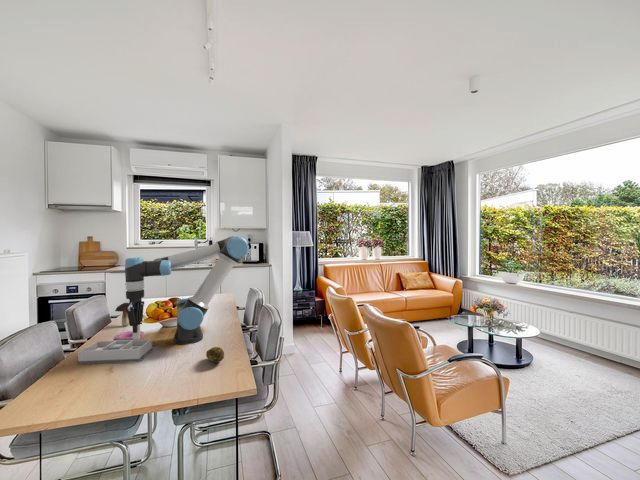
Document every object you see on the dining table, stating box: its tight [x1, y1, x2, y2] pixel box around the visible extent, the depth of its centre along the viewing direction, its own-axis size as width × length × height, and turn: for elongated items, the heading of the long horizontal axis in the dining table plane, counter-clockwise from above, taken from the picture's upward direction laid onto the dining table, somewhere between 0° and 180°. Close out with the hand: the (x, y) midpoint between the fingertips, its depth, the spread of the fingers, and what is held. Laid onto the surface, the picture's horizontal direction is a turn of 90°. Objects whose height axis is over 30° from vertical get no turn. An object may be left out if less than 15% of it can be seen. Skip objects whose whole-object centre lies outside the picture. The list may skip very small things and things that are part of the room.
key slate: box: [109, 344, 125, 350], centre depth 142 cm, size 5×5×3 cm
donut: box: [112, 330, 145, 340], centre depth 161 cm, size 14×14×5 cm
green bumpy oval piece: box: [205, 346, 225, 364], centre depth 136 cm, size 8×13×8 cm, turn 15°
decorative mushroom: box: [114, 302, 130, 327], centre depth 190 cm, size 11×11×15 cm
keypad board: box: [77, 338, 154, 365], centre depth 142 cm, size 26×14×6 cm, turn 97°
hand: (136, 338), depth 143 cm, fingers closed
